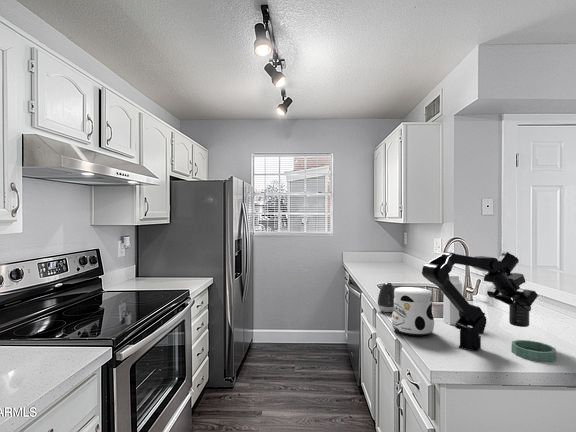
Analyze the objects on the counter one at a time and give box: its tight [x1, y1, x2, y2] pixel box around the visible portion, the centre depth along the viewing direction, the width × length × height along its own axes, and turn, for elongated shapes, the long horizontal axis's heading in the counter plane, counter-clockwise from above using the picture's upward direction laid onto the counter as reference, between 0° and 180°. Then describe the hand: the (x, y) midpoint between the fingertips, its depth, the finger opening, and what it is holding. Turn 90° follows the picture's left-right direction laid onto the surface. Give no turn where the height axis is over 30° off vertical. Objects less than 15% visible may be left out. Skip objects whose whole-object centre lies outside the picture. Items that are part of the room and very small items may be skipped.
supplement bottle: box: [508, 297, 530, 328], centre depth 147 cm, size 7×7×12 cm
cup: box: [511, 339, 557, 363], centre depth 132 cm, size 13×13×3 cm
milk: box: [442, 275, 463, 326], centre depth 172 cm, size 6×6×22 cm
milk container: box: [391, 286, 435, 337], centre depth 157 cm, size 17×17×18 cm
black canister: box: [377, 282, 395, 313], centre depth 192 cm, size 10×10×15 cm
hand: (522, 308), depth 147 cm, fingers closed on supplement bottle, 7 cm apart
